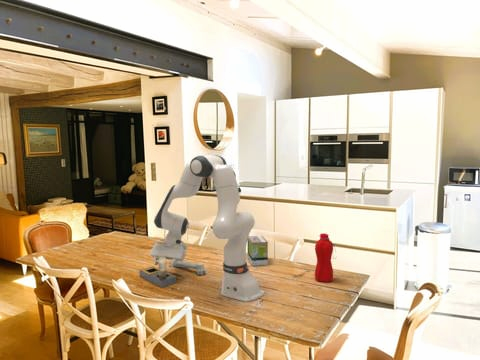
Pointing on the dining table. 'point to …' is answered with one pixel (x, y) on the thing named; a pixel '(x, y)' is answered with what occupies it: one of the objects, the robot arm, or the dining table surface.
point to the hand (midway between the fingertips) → (162, 265)
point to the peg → (162, 266)
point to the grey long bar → (191, 266)
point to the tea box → (257, 250)
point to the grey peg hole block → (157, 277)
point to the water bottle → (324, 259)
